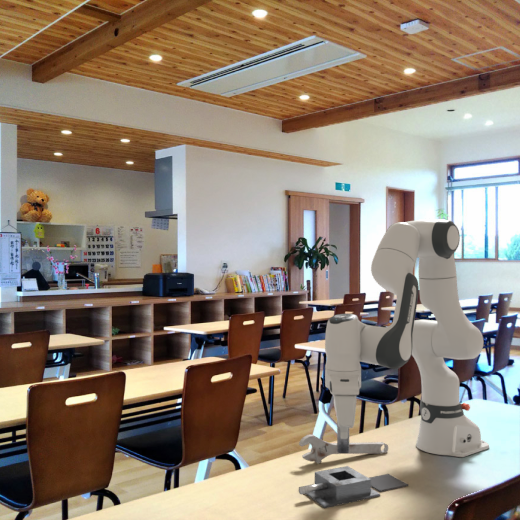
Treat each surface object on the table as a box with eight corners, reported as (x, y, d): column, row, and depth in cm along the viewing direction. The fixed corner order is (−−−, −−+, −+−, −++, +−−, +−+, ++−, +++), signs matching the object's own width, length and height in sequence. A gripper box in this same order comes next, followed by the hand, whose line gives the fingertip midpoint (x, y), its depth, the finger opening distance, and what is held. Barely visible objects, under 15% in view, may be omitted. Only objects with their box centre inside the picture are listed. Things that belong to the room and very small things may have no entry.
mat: (388, 475, 155) (388, 473, 155) (408, 485, 148) (408, 484, 148) (360, 480, 151) (360, 479, 151) (379, 492, 144) (379, 490, 144)
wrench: (387, 462, 173) (299, 465, 161) (383, 460, 175) (296, 463, 163) (389, 435, 174) (302, 436, 161) (386, 433, 175) (299, 434, 163)
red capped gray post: (335, 448, 146) (335, 409, 146) (350, 449, 146) (350, 409, 146) (336, 453, 142) (335, 413, 142) (351, 454, 142) (351, 413, 142)
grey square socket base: (351, 479, 152) (351, 463, 152) (379, 496, 142) (380, 479, 142) (288, 491, 144) (288, 475, 144) (313, 510, 133) (313, 492, 133)
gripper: (328, 370, 154) (328, 422, 155) (332, 389, 134) (332, 448, 134) (352, 371, 154) (352, 422, 154) (359, 389, 134) (360, 449, 134)
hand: (343, 435), depth 144 cm, fingers closed on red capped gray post, 3 cm apart
